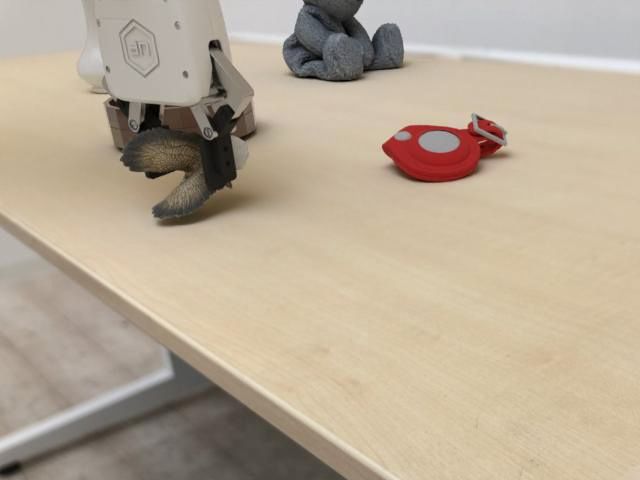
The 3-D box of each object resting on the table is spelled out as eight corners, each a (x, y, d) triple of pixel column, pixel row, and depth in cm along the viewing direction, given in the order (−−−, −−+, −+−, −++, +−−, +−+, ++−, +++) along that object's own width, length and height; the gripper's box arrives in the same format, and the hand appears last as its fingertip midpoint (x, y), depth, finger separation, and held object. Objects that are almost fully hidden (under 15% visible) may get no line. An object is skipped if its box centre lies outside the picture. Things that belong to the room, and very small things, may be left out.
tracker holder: (457, 175, 70) (363, 140, 73) (455, 215, 73) (364, 180, 77) (519, 114, 78) (431, 85, 81) (514, 153, 81) (429, 124, 84)
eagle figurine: (181, 168, 74) (104, 177, 66) (212, 104, 71) (135, 105, 63) (238, 221, 73) (167, 237, 65) (273, 159, 70) (202, 167, 62)
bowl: (83, 150, 91) (71, 105, 89) (185, 119, 104) (176, 79, 102) (190, 161, 84) (180, 113, 82) (284, 126, 97) (278, 83, 95)
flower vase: (60, 105, 117) (7, -88, 106) (83, 84, 134) (40, -86, 122) (151, 96, 120) (110, -93, 108) (164, 77, 136) (129, -90, 124)
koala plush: (348, 84, 120) (332, -62, 111) (260, 78, 129) (239, -57, 120) (412, 65, 133) (403, -67, 124) (328, 61, 142) (314, -62, 133)
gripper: (27, -51, 61) (85, 180, 69) (200, -55, 54) (241, 204, 62) (105, -56, 67) (150, 158, 75) (270, -60, 59) (300, 177, 68)
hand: (191, 177), depth 68 cm, fingers closed on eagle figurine, 6 cm apart
